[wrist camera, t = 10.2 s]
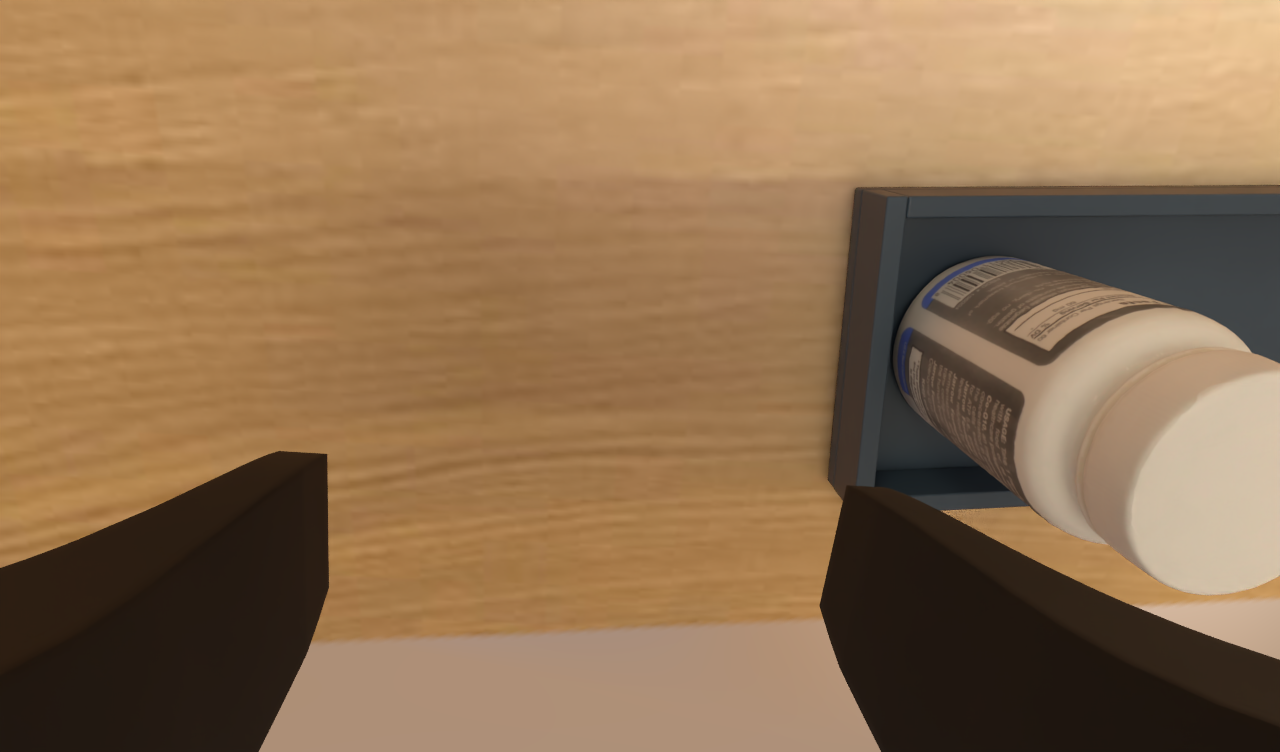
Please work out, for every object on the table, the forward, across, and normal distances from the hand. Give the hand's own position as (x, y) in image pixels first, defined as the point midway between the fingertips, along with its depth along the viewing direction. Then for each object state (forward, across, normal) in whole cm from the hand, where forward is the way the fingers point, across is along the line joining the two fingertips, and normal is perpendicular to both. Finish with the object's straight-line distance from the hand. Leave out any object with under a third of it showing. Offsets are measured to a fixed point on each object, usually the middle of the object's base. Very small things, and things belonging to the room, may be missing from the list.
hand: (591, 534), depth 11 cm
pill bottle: (+9, -10, -1) cm, 14 cm away
